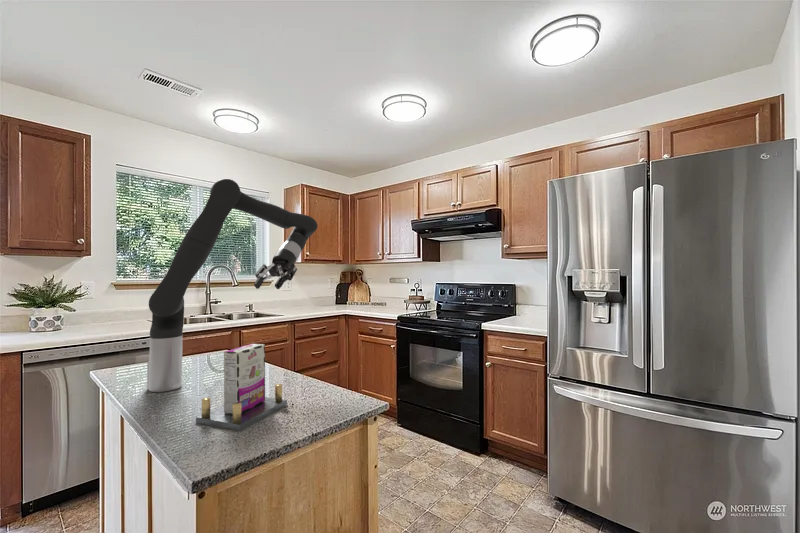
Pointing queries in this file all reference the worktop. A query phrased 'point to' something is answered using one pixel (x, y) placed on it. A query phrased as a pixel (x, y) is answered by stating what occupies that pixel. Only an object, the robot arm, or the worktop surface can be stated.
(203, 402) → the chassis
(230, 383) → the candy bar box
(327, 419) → the worktop surface
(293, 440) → the worktop surface
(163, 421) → the worktop surface
